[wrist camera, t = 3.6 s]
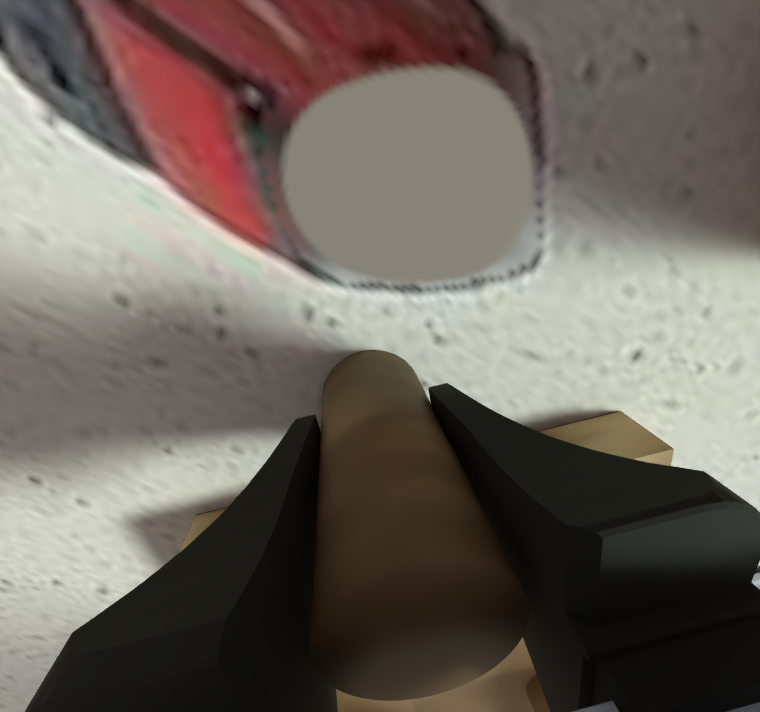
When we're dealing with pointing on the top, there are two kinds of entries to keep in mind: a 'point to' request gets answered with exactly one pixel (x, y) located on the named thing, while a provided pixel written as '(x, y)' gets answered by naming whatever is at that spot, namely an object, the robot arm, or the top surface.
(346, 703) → the wooden peg board
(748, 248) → the top surface
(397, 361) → the loose leg
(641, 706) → the robot arm
